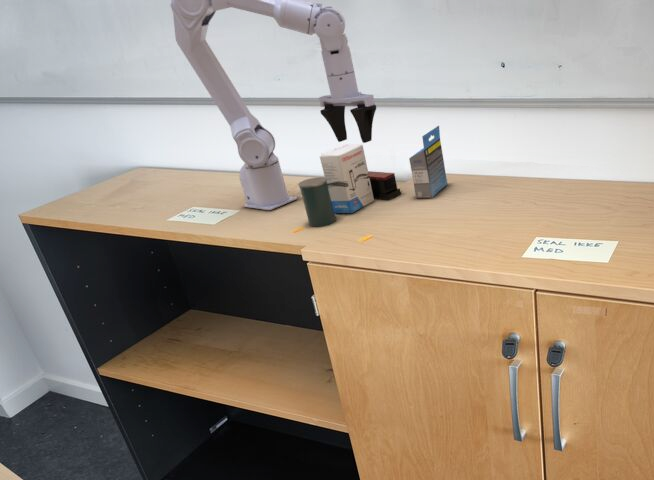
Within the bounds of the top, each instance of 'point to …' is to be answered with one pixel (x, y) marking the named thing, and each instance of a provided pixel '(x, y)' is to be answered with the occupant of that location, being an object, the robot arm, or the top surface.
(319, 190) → the pen tin
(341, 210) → the ink box
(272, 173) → the robot arm
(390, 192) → the black and red block
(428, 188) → the blue grey hanging carton
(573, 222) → the top surface
